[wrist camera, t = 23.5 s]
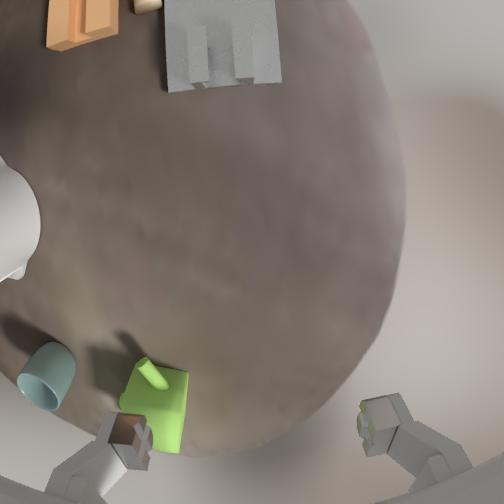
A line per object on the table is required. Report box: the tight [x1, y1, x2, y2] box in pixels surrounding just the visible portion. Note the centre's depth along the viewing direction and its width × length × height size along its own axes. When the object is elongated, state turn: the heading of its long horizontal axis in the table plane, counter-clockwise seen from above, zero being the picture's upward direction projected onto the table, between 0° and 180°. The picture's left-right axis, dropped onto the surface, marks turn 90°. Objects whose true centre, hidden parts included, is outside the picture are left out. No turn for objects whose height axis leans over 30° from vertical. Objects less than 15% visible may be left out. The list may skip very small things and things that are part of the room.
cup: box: [17, 342, 76, 411], centre depth 40 cm, size 8×8×10 cm
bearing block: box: [164, 0, 282, 94], centre depth 27 cm, size 12×12×6 cm
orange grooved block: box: [46, 0, 119, 51], centre depth 26 cm, size 8×10×4 cm
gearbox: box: [119, 357, 189, 453], centre depth 43 cm, size 18×10×10 cm, turn 169°
